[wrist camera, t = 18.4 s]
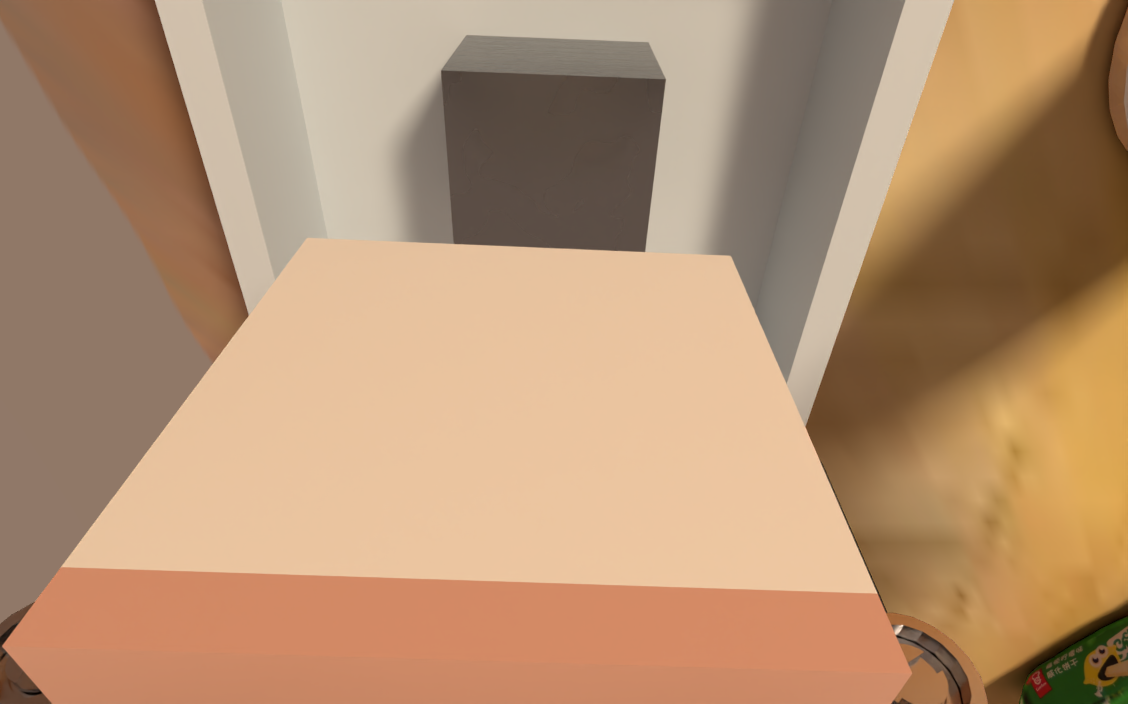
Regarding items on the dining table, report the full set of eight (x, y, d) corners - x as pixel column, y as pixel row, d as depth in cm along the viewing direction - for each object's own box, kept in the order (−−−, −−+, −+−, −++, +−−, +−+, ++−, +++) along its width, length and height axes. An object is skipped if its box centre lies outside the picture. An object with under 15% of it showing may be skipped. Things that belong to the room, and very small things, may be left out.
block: (648, 42, 21) (665, 79, 17) (631, 212, 25) (641, 276, 21) (466, 34, 21) (440, 70, 17) (474, 206, 25) (455, 269, 21)
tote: (919, -226, 18) (1046, -267, 13) (763, 351, 30) (799, 442, 25) (201, -260, 18) (60, -315, 13) (329, 335, 30) (281, 424, 25)
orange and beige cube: (730, 255, 9) (911, 672, 4) (671, 528, 13) (733, 927, 8) (307, 237, 9) (3, 646, 4) (366, 518, 13) (237, 914, 8)
